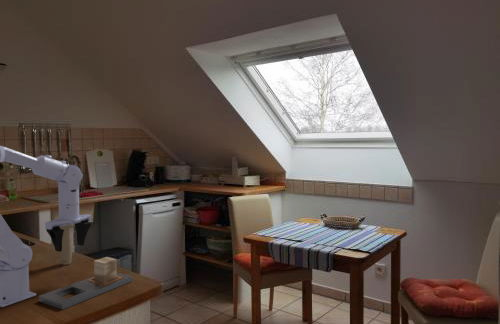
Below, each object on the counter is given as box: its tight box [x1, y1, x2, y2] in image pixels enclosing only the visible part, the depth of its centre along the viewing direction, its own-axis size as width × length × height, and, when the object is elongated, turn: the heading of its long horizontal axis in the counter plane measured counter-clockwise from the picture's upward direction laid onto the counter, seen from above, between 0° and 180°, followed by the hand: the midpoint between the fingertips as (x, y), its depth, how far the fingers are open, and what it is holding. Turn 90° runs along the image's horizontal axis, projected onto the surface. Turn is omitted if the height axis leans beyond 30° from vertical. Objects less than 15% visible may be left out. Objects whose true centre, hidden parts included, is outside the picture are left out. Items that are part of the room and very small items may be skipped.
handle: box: [59, 224, 74, 266], centre depth 140 cm, size 5×6×15 cm
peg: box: [93, 256, 118, 284], centre depth 122 cm, size 4×4×8 cm
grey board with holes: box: [38, 272, 133, 311], centre depth 117 cm, size 24×10×2 cm, turn 150°
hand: (69, 248), depth 123 cm, fingers open, 7 cm apart
